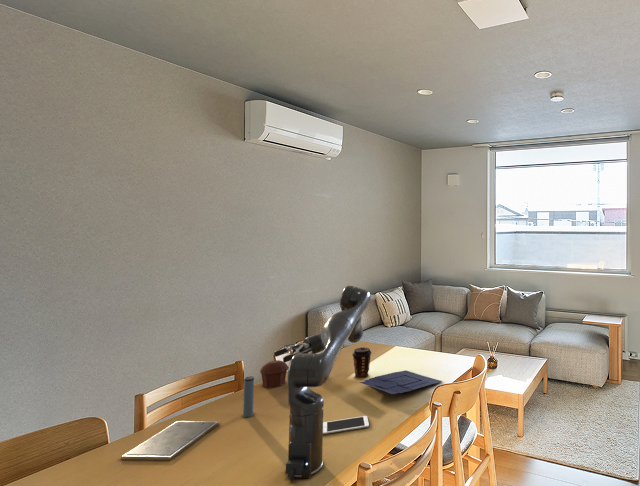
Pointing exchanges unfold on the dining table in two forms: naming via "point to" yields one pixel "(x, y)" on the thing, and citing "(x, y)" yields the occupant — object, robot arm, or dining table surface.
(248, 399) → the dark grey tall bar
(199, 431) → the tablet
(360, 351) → the coffee cup
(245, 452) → the dining table surface
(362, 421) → the cell phone
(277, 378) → the muffin
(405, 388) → the navy compartment tray
